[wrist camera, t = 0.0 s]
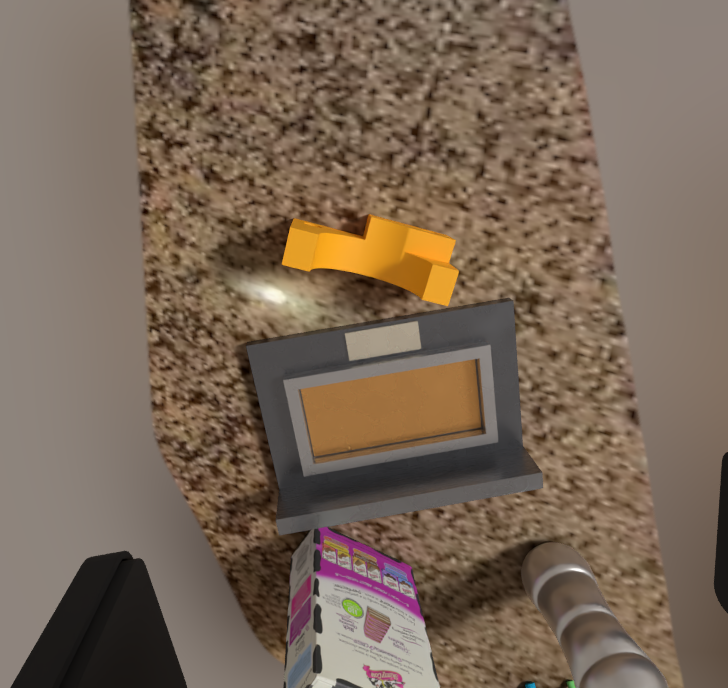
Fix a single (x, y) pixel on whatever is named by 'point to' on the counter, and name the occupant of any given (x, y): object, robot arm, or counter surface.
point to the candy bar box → (353, 618)
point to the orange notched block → (378, 255)
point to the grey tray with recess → (393, 415)
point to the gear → (531, 687)
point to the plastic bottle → (585, 621)
